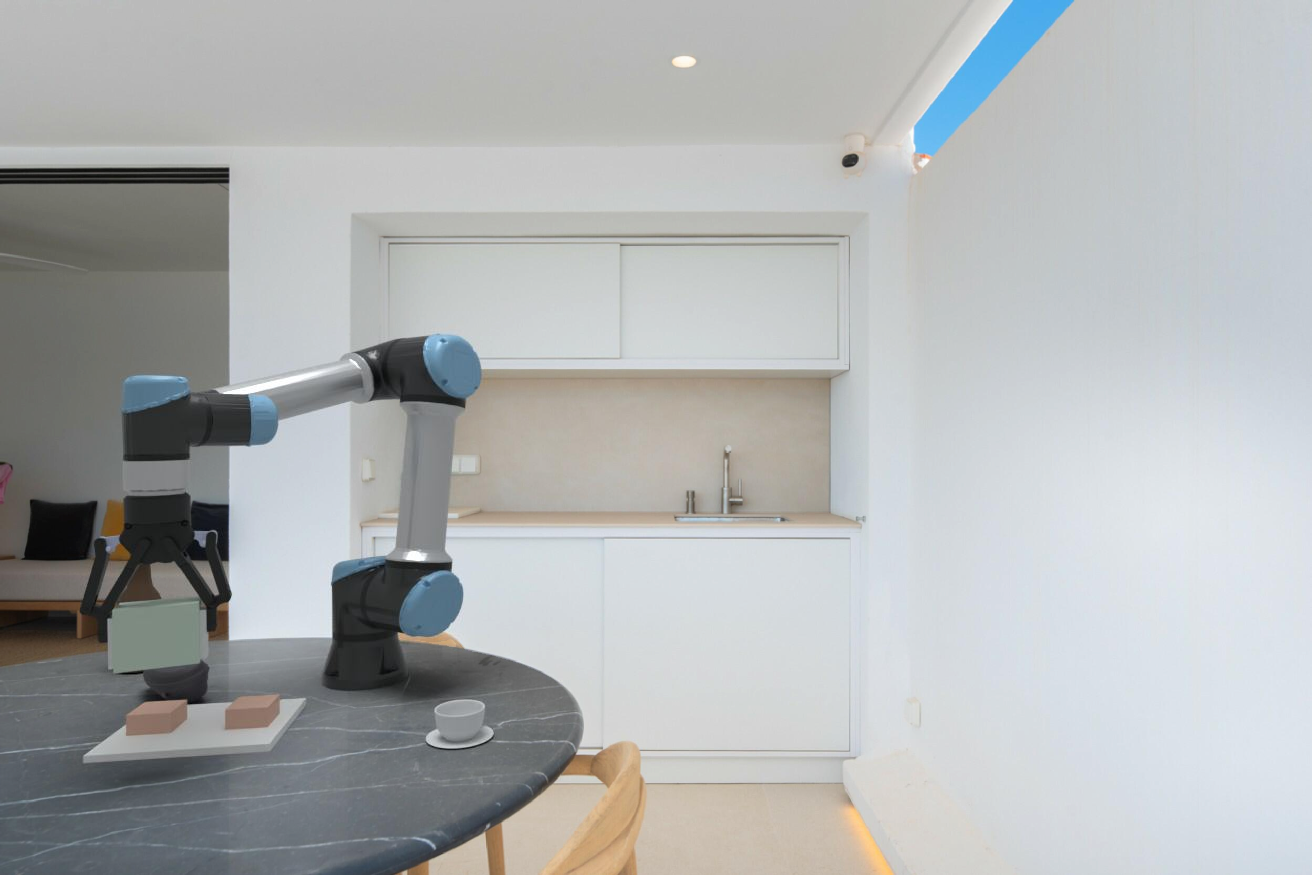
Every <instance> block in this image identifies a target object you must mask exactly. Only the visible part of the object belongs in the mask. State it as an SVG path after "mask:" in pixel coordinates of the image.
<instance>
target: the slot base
mask: <svg viewBox="0 0 1312 875" xmlns="http://www.w3.org/2000/svg"><path fill="white" fill-rule="evenodd" d="M280 698H281V695H280V694H279V693H278V694H265V695H264V694H263V695H262V694H261V695H248V696H247V695H246V696H245V695H244V696H239V697H237V698H236V699H235V700H233V701H231V702H229V701H227V702H215V703H213V702H211V703H198V704H197V703H196V704H195V703H194V704H193V703H192V704H187V700H171V701H166V700H158V701H157V700H155V701H145V702H143V703H141V704H140V705H139V706H137V707H136V708H135V709H133V710H131V711H130V712H129V713H127V714H126V715H125V724H124V725H123V726H122V727H121V728H119V729H118V730H116V731H115V732H114V733H112V734H111V735H110V736H108V737H106V739H104V740H102V742H100V743H99V744H97V745H96V746H94V747H93V748H91V750H89V751H88V752H86V753H85V754H84V755H82V764H92V763H109V762H122V761H123V762H125V761H139V760H140V761H141V760H155V759H156V760H157V759H172V758H187V757H188V758H189V757H190V758H191V757H192V758H193V757H203V756H205V757H206V756H221V755H233V754H234V755H238V754H240V755H241V754H255V753H269V752H271V751H272V749H273V748H274V747H275V746H276V744H277V743H278V742H279V740H280V739H281V738H283V735H285V733H286V732H287V730H288V729H289V728H291V725H292V724H293V723H294V722H295V720H296V719H297V718H298V717H299V715H300V714H301V713H302V711H303V710H304V709H305V707H307V698H306V697H302V698H301V697H299V698H285V699H284V698H282V699H280Z"/></svg>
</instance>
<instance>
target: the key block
mask: <svg viewBox="0 0 1312 875" xmlns="http://www.w3.org/2000/svg"><path fill="white" fill-rule="evenodd" d="M203 605H204V604H203V601H202V600H201V598H200V597H199V595H197V596H196V595H195V596H188V597H187V596H186V597H185V596H184V597H174V598H173V597H172V598H161V599H160V600H148V601H137V602H125V603H119V604H118V605H117V604H116V605H115V607H114V608H113V610H112V612H111V615H112V629H113V669H112V670H113V672H112V674H121V673H122V672H130V671H139V670H147V669H156V668H164V667H173V666H181V665H190V664H198V663H200V661H201V660H202V659H200V609H201V607H202V606H203ZM122 674H123V673H122Z"/></svg>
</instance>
